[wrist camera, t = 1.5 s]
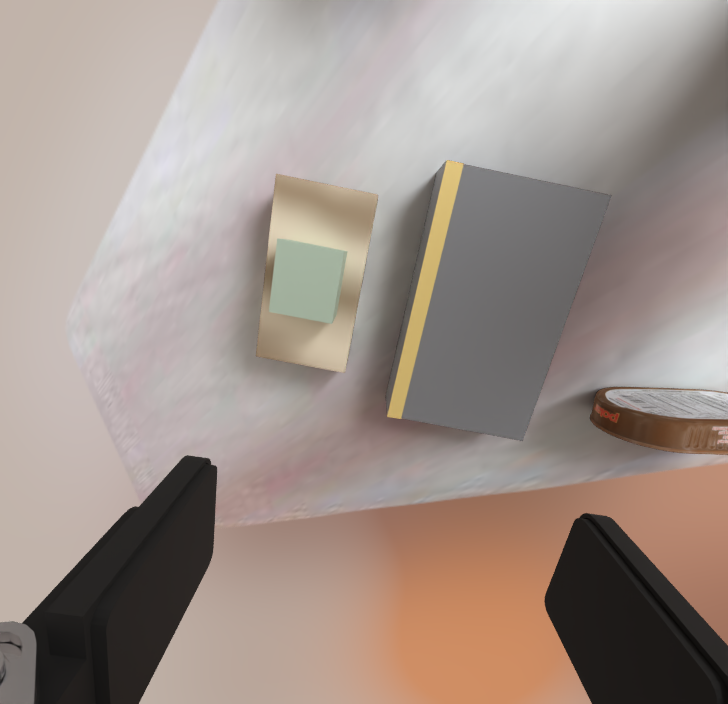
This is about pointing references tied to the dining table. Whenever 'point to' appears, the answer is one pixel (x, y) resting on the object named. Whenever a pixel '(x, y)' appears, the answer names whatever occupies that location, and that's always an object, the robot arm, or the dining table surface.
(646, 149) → the dining table surface
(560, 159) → the dining table surface
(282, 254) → the box
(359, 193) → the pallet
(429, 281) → the dock
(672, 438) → the tin
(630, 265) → the dining table surface
